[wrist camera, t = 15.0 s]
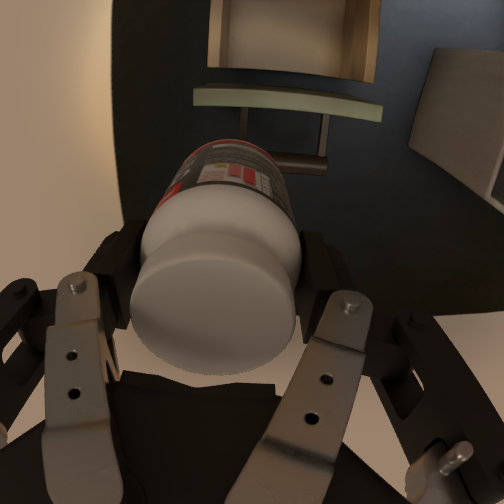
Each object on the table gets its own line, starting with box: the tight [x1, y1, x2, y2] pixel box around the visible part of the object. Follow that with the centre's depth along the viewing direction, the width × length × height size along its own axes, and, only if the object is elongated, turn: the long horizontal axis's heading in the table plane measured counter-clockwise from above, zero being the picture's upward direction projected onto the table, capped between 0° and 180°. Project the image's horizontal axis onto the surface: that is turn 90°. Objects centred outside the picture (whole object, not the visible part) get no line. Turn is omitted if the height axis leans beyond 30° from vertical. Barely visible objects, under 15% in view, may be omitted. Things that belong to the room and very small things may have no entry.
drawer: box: [193, 0, 383, 176], centre depth 20 cm, size 19×13×8 cm, turn 177°
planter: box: [408, 49, 504, 214], centre depth 19 cm, size 16×8×19 cm, turn 31°
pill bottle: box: [130, 139, 302, 375], centre depth 13 cm, size 6×6×10 cm
